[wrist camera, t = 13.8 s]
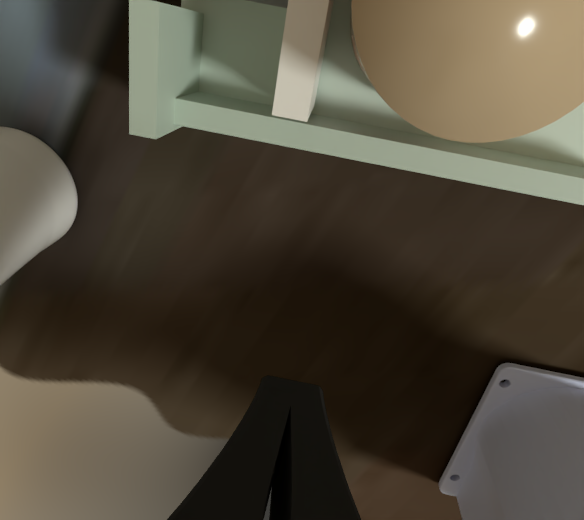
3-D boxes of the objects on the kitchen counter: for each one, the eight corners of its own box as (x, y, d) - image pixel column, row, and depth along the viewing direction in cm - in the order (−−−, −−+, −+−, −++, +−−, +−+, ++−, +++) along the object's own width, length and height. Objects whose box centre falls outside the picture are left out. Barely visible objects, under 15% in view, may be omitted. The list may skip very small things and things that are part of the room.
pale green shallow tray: (582, 190, 17) (670, 241, 12) (184, 111, 17) (129, 134, 12) (727, -98, 13) (936, -177, 8) (201, -196, 13) (128, -325, 8)
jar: (465, 130, 15) (549, 179, 9) (323, 76, 15) (311, 89, 9) (555, -45, 13) (749, -136, 7) (388, -112, 13) (433, -272, 6)
